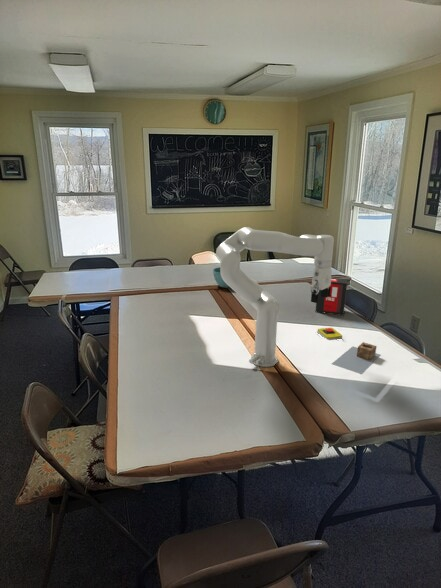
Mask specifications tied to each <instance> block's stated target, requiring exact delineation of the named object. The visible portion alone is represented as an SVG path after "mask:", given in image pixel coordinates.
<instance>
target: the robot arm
mask: <svg viewBox="0 0 441 588" xmlns="http://www.w3.org/2000/svg"><path fill="white" fill-rule="evenodd" d="M334 242H335V238H334V236H332V235H330V234H319V235H315V234H308V233H307V234H301V235H300V236H295V235H292V234H288V233H285V232H281V231H276V230H275V231H273V230H272V231H271V230H261V229H254V228H251V227H249V226H245V227H242V228H240V229H238V230H237V231H236V232H234V233H233V234H231V236H228V238H226V239H225V240H224V241H222V242H221V243H220V244H219V245H218V246H217V248H216V250H215V256H216V258H217V260H218V261H219V262H220V272H221V277H222V279H223V280H224V282H225V283H226V284H227V285H228V286H230V287H229V288H230V289H232V291H234V292H235V293H236V294H237V295H238V296H239V297H240V298H241V299H242V300H243V301H245V302H247V303H248V304H249V305H251V307H253V309H254V310H255V311H256V312H257V314H256V315H257V316H256V320H255V326H254V327H255V332H254V335H255V337H254V353H253V354H252V355H251V357H250V359H249V360H248V363H250V364H253V365H256V366H258V367H261V368H262V367H263V368H269V367H273V366H276V365H277V364H278V363H279V358H278V356H277V355H276V350H277V349H276V348H277V331H278V330H277V329H278V321H279V315H280V305H279V302H278V301H277V299H276V298H275V297H274V296H273V295H271V294H270V293H269V292H268V291H267V290H266V289H264V288H263V287H262V286H261V285H260V284H259V283H258V282H257V281H256V280H255V279H253V278H252V277H251V276H248V275H247V274H246V273H245V272H244V271H243V270H242V269H241V252H243V250H245V249H246V250H249V251H257V252H274V253H281V254H288V255H295V256H301V257H302V256H303V257H314V259H313V261H314V263H313V267H314V268H313V274H312V280H311V285H310V294H311V295H310V296H311V297H310V302H311V303H315V304H316V303H318V296H319V295H318V292H319V290H321V297H325V298H327V297H328V289H329V286H330V285H331V278H332V263H333V252H334V244H335V243H334ZM276 359H277V360H276ZM277 362H278V363H277ZM276 363H277V364H276ZM275 364H276V365H275Z"/></svg>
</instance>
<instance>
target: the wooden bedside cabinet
mask: <svg viewBox="0 0 441 588" xmlns="http://www.w3.org/2000/svg"><path fill="white" fill-rule="evenodd" d="M377 347H378V346H377V345H375V344H371V343H367V342H365V341H363V342H362V343H360V344H359V345H358V346H357V348H358V350H357V357H360V358H364V359H367V360H371V359H372V358H373V357H374V356H375V354H376V353H377Z"/></svg>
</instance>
